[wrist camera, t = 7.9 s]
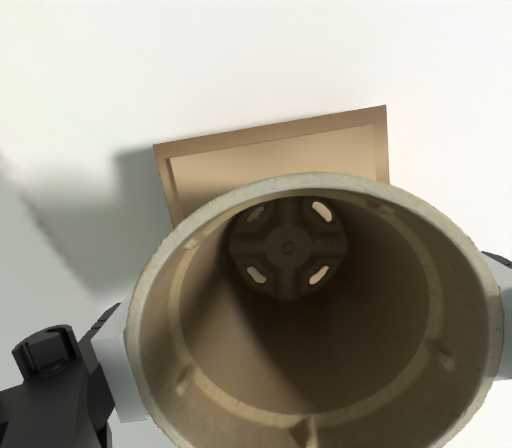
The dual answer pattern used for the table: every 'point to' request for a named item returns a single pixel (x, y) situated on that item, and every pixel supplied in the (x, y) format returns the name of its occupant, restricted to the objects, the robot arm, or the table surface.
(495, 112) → the table surface
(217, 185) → the plinth
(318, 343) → the flower pot
